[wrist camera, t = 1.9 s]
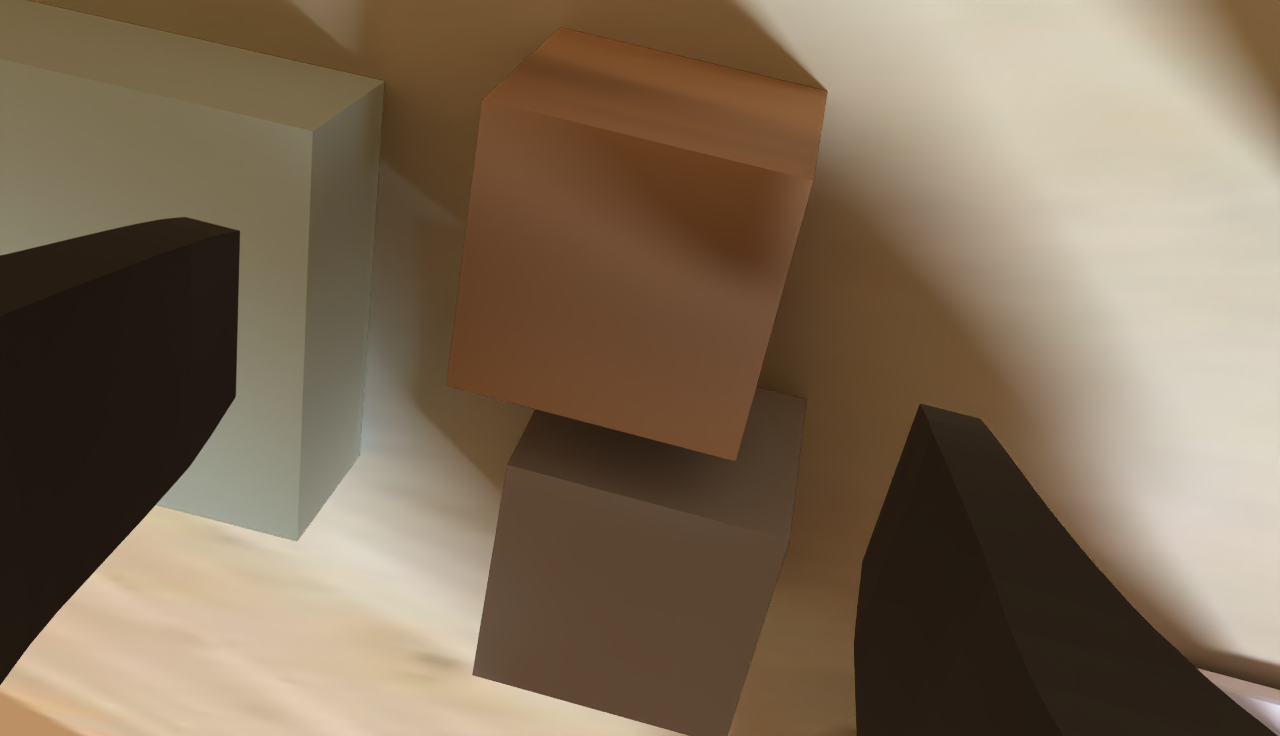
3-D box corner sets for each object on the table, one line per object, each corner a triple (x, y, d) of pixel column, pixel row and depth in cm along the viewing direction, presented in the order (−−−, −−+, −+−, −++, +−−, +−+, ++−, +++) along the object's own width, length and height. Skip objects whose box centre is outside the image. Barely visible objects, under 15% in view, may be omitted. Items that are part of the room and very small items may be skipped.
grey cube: (749, 582, 22) (724, 745, 18) (537, 525, 22) (472, 675, 18) (806, 397, 20) (789, 540, 16) (572, 336, 20) (507, 465, 16)
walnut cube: (762, 328, 19) (735, 461, 16) (524, 268, 20) (446, 385, 16) (828, 90, 17) (812, 180, 14) (561, 25, 18) (482, 99, 14)
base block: (366, 445, 22) (297, 541, 19) (12, 357, 23) (-102, 438, 20) (392, 75, 19) (313, 131, 16) (-25, -19, 19) (-168, 20, 17)
